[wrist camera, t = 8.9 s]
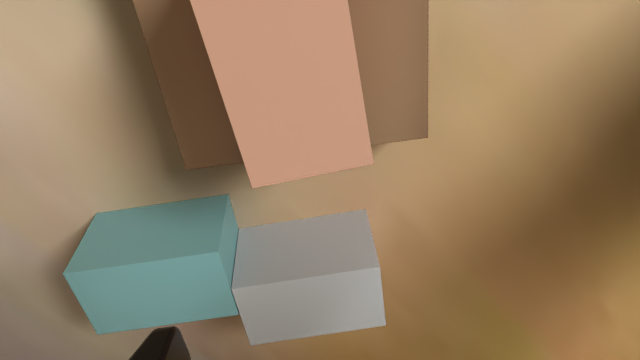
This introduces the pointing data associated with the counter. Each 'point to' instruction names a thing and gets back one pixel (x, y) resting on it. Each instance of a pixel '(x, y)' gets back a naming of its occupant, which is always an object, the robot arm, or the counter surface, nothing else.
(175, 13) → the walnut slab
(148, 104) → the counter surface
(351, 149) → the terracotta brick
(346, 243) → the grey brick
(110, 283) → the teal brick
